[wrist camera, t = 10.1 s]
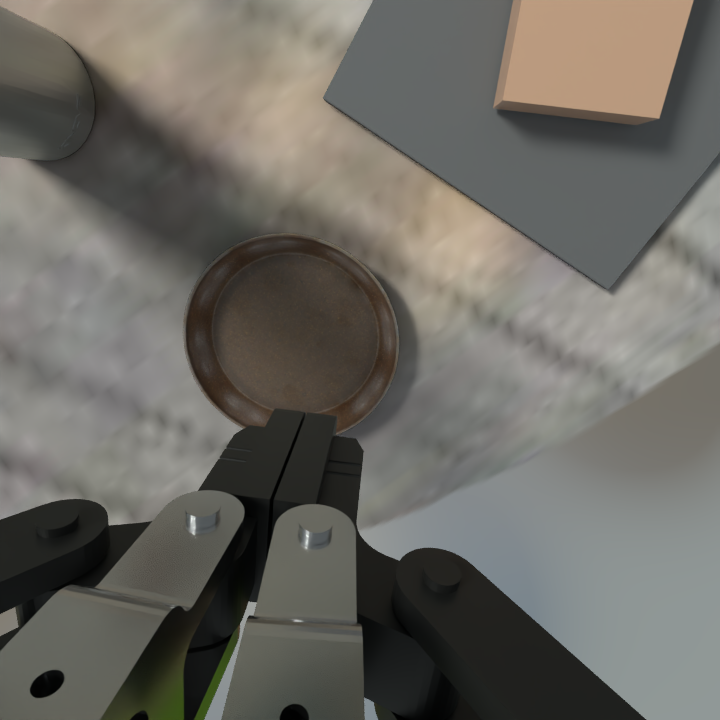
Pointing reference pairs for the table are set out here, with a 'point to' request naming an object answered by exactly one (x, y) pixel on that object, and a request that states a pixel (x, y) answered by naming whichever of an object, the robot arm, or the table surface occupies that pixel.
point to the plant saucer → (290, 332)
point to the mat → (531, 129)
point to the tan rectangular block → (591, 58)
